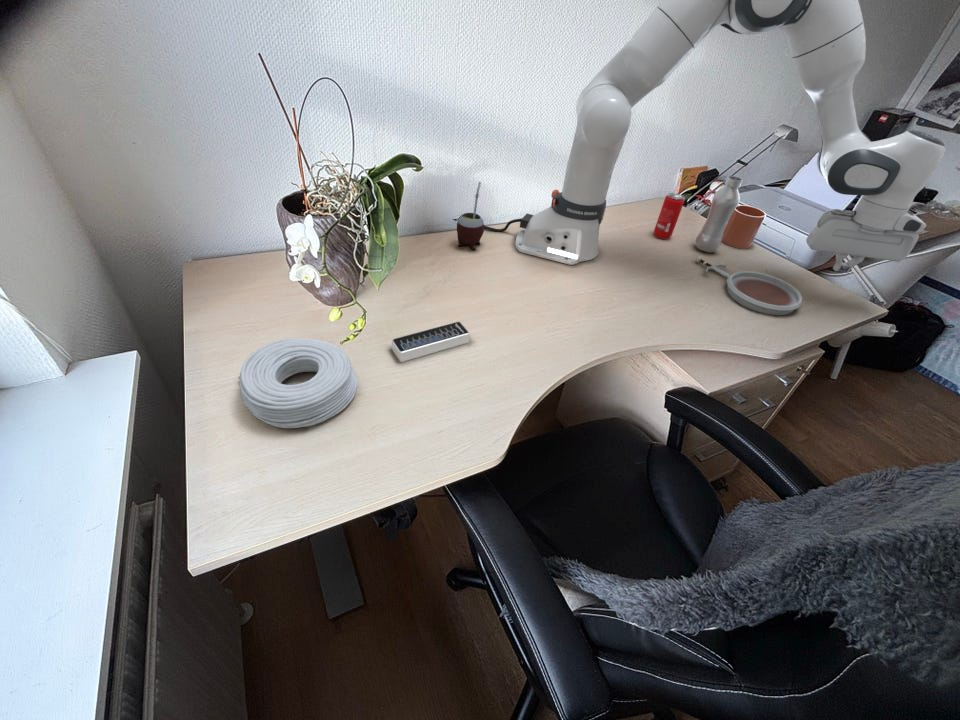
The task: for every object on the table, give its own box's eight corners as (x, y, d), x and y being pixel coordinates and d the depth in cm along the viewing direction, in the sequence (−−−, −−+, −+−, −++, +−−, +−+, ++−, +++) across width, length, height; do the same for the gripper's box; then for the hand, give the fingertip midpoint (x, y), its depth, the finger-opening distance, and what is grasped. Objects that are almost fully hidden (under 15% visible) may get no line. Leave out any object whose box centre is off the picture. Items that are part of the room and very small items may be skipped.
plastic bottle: (702, 255, 127) (733, 183, 114) (688, 244, 132) (716, 174, 119) (721, 254, 128) (754, 182, 115) (706, 243, 133) (736, 173, 120)
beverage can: (649, 232, 136) (662, 192, 128) (663, 231, 137) (678, 192, 130) (659, 240, 132) (673, 199, 125) (674, 239, 134) (689, 199, 126)
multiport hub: (391, 348, 86) (390, 339, 85) (459, 329, 92) (459, 320, 91) (400, 362, 83) (399, 352, 82) (469, 342, 90) (470, 332, 88)
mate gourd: (461, 253, 117) (465, 195, 108) (450, 239, 123) (453, 183, 113) (488, 249, 120) (493, 193, 110) (476, 236, 125) (480, 181, 116)
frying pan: (718, 247, 126) (819, 296, 108) (714, 257, 128) (812, 306, 110) (677, 259, 119) (778, 313, 101) (673, 269, 120) (772, 324, 103)
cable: (236, 376, 78) (226, 349, 74) (337, 347, 85) (333, 321, 81) (259, 448, 67) (248, 421, 63) (372, 408, 74) (369, 381, 70)
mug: (754, 242, 136) (769, 211, 130) (745, 251, 131) (761, 219, 125) (716, 229, 142) (729, 199, 136) (706, 237, 137) (719, 206, 130)
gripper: (831, 213, 98) (798, 270, 107) (935, 226, 96) (892, 284, 105) (820, 202, 103) (789, 258, 112) (919, 215, 100) (879, 270, 109)
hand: (840, 270), depth 108 cm, fingers closed
